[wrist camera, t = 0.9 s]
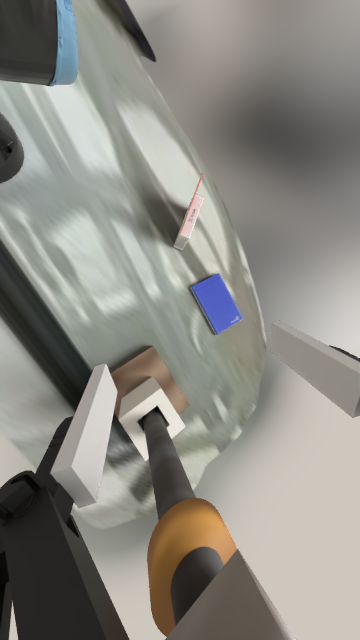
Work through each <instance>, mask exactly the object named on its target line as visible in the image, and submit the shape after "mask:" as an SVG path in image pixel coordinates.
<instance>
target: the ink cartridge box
mask: <svg viewBox="0 0 360 640" xmlns="http://www.w3.org/2000/svg"><path fill="white" fill-rule="evenodd" d="M202 174H203V173H202ZM202 174H201V177H202ZM201 177H200V180H201ZM200 180H199V183H200ZM199 183H198V186H199ZM198 186H197V188H196V191H197V189H198ZM196 191H195V193H194V196H193V198H192V200H191V202H190V205H189V207H188V209H187V212H186V215H185V217H184V220H183V223H182V225H181V228H180V230H179V233H178V236H177V238H176V241H175V244H174V246H173V247H175V248H177V249H179V250H181V251H182V250H183V248H184V246H185V245H186V243H187V242H188V240H189V238H190V235H191V232H192V229H193V227H194V224H195V221H196V218H197V216H198V213H199V210H200V207H201V204H202V202H203V199H204V198H203V197H201V196H199V195H198V194H196Z"/></svg>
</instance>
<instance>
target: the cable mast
mask: <svg viewBox="0 0 360 640" xmlns="http://www.w3.org/2000/svg"><path fill="white" fill-rule="evenodd" d="M110 374H111V377H112V379H113V382H114V384H115V387H116V389H117V391H118V392H117V397H116V403H115V408H114V413H115V415H116V416H117V418H118V419H119V413H120V406H121V399H122V398H123V397H125V396H126V395H127V394H129V393H130V392H132V391H133V390H134V389H136V388H137V387H139V386H140V385H141V384H143V383H144V382H146V381H147V380H148V379H150V378H151V377H153V376H154V378H155V379H156V381H157V382H158V384H159V385H160V387H161V388H162V390H163V392H164V393H165V395H166V396H167V398H168V400H169V401H170V403H171V404H172V406H173V407H174V409H175V411H176V412H177V414H180V413H181V412H182V411H183V410H184V409H186V408H187V407H188V406H189V405H190V404H189V403H188V401H187V399H186V398H185V396H184V395H183V393H182V391H181V390H180V388H179V387H178V385H177V383H176V382H175V380H174V379H173V377H172V376H171V374H170V372H169V371H168V369H167V368H166V366H165V364H164V363H163V361H162V360H161V358H160V356H159V355H158V353H157V352H156V350H155V349H154V347H153V346H151V347H149V348H148V349H146V350H145V351H143V352H141V353H140V354H138V355H137V356H135V357H134V358H132V359H131V360H129V361H128V362H126V363H125V364H123V365H122V366H120V367H118V368H117V369H115V370H114V371H112V372H111V373H110ZM142 418H143V424H144V431H145V437H146V443H147V450H148V456H149V462H150V469H151V475H152V481H153V487H154V494H155V500H156V506H157V513H158V519H159V522H158V524H157V525H156V527H155V529H154V531H153V533H152V536H151V539H150V542H149V546H148V553H147V562H148V575H149V588H150V601H151V611H152V615H153V619H154V621H155V624H156V625H157V627H158V629H159V630H160V631H161V632H162V633H163V634H164V635H165V636H166V637H167V638H166V639H165V640H296V639H295V637H294V636H293V634H292V632H291V631H290V629H289V628H288V626H287V625H286V623H285V622H284V620H283V618H282V617H281V615H280V614H279V612H278V611H277V609H276V608H275V606H274V604H273V603H272V601H271V600H270V598H269V597H268V595H267V594H266V592H265V590H264V589H263V587H262V586H261V584H260V583H259V581H258V580H257V578H256V577H255V575H254V573H253V572H252V570H251V569H250V567H249V566H248V564H247V562H246V561H245V559H244V558H243V556H242V555H241V553H240V552H239V551H238V549H237V548H236V546H235V543H234V541H233V539H232V537H231V535H230V533H229V531H228V529H227V528H226V526H225V524H224V522H223V520H222V518H221V516H220V514H219V512H218V510H217V509H216V508H215V507H214V506H213V505H212V504H211V503H210V502H208V501H206V500H204V499H200V498H196V497H195V495H194V492H193V490H192V488H191V485H190V483H189V480H188V478H187V476H186V473H185V471H184V468H183V466H182V464H181V461H180V459H179V456H178V454H177V452H176V449H175V447H174V445H173V442H172V440H171V437H170V435H169V433H168V430H167V428H166V425H165V423H164V421H163V418H162V416H161V413H160V411H159V409H158V406H156V407H155V408H153V409H152V410H151V411H149V412H148V413H147V414H146V415H144V416H143V417H142Z"/></svg>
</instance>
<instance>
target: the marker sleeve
mask: <svg viewBox="0 0 360 640" xmlns="http://www.w3.org/2000/svg"><path fill="white" fill-rule="evenodd" d="M156 406H158V409H159V411H160V413H161V416H162V418H163V421H164V423H165V425H166V428H167V430H168V433H169V435H170V437H171V439H172V438H173V437H174V436H175V435H176V434H178V433H179V432H180V431H181V430H182V429H183V428H185V427H186V426H185V425H184V423H183V422H182V420H181V418H180V417H179V415H178V414H177V412H176V411H175V409H174V407H173V406H172V404H171V403H170V401H169V400H168V398H167V396H166V395H165V393H164V392H163V390H162V388H161V387H160V385H159V384H158V382H157V381H156V379H155V378H154V376H153V377H151V378H150V379H148V380H147V381H146V382H144V383H143V384H141V385H140V386H139V387H137V388H136V389H134V390H133V391H132V392H130V393H129V394H127V395H126V396H125V397H123V398H122V399H121V406H120V413H119V419H118V420H119V421H120V423H121V424H122V426H123V428H124V429H125V431H126V432H127V434H128V435H129V437H130V438H131V440H132V441H133V443H134V444H135V446H136V447H137V449H138V450H139V452H140V454H141V455H142V457H143V458H144V460H145V461H146V460H148V459H149V456H148V450H147V443H146V437H145V431H144V424H143V418H142V417H143V416H144V415H146V414H147V413H148V412H149V411H151V410H152V409H153V408H155V407H156Z"/></svg>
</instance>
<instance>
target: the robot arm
mask: <svg viewBox="0 0 360 640" xmlns="http://www.w3.org/2000/svg"><path fill="white" fill-rule="evenodd" d="M77 74H78V44H77V33H76V25H75V18H74V13H73V9H72V6H71V0H0V80H3V81H12V82H21V83H30V84H40V85H46V86H54V85H69V84H72V83H73V82H74V81H75V80H76V77H77ZM23 160H24V151H23V147H22V144H21V142H20V140H19V138H18V137H17V135H16V133H15V131H14V129H13V128H12V126H11V125H10V123H9V122H8V121H7V119H6V118H5V117H4V116H3V115H2V114H1V113H0V183H2V182H5V181H7V180H9V179H10V178H12V177H13V176H15V175H16V174H17V173H18V171H19V170H20V168H21V166H22V164H23ZM270 337H271V338H270V352H272V353H273V354H274V355H275V356H277V357H278V358H279V359H280V360H281V361H283V362H284V363H285V364H286V365H288V366H289V367H290V368H292V369H293V370H294V371H295V372H296V373H298V374H299V375H300V376H301V377H303V378H304V379H305V380H306V381H308V382H309V383H310V384H311V385H312V386H314V387H315V388H316V389H317V390H319V391H320V392H321V393H322V394H324V395H325V396H326V397H327V398H329V399H330V400H331V401H332V402H334V403H335V404H336V405H337V406H338V407H340V408H341V409H342V410H344V411H345V412H346V413H347V414H349V415H350V416H351V417H352V418H354V417H356V416H360V358H357V357H356V356H354V355H352V354H350V353H348V352H346V351H344V350H342V349H340V348H336V347H333V346H328V345H326V344H324V343H322V342H320V341H318V340H316V339H314V338H312V337H310V336H309V335H307V334H305V333H303V332H301V331H299V330H297V329H295V328H293V327H291V326H289V325H287V324H285V323H283V322H281V321H280V320H279V321H275V322H272V323H271V336H270ZM117 392H118V391H117V389H116V387H115V384H114V382H113V379H112V377H111V374H110V372H109V370H108V367H107V365H106V363H105V364H101V365H97V366H95V368H94V370H93V372H92V375H91V377H90V380H89V382H88V384H87V387H86V389H85V391H84V394H83V396H82V399H81V401H80V403H79V406H78V408H77V410H76V413H75V415H74V416H72V417H68V418H65V420H64V421H63V422H62V423H61V424H60V426H59V427H58V428H57V430H56V432H55V434H54V436H53V440H51V442H50V444H49V446H48V447H49V448H48V449H47V451H46V453H45V455H44V457H43V459H42V461H41V463H40V465H39V467H38V469H37V471H36V473H35V474H34V473H33V472H32V471H24V472H21V473H19V474H17V475H16V476H14V477H13V478H11V479H10V480H8V481H7V482H6V483H5V484H4V485H3V486H2V487H1V488H0V640H9V630H10V619H11V608H12V600H13V607H14V614H15V620H16V627H17V633H18V640H129V638H128V635H127V633H126V631H125V629H124V627H123V625H122V623H121V620H120V618H119V616H118V614H117V612H116V609H115V607H114V605H113V603H112V601H111V599H110V596H109V594H108V592H107V590H106V588H105V586H104V583H103V581H102V579H101V577H100V575H99V573H98V570H97V568H96V566H95V564H94V562H93V560H92V557H91V555H90V553H89V551H88V549H87V547H86V544H85V542H84V540H83V538H82V536H81V534H80V531H79V529H78V527H77V525H76V523H75V521H74V518H73V516H72V515H71V514H70V513H71V510H72V506H73V503H75V504H76V505H77V506H78V508H81V507H84V506H87V505H90V504H93V503H96V502H97V498H98V493H99V488H100V483H101V477H102V472H103V467H104V461H105V456H106V451H107V445H108V440H109V435H110V429H111V424H112V419H113V413H114V408H115V403H116V397H117Z"/></svg>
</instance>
